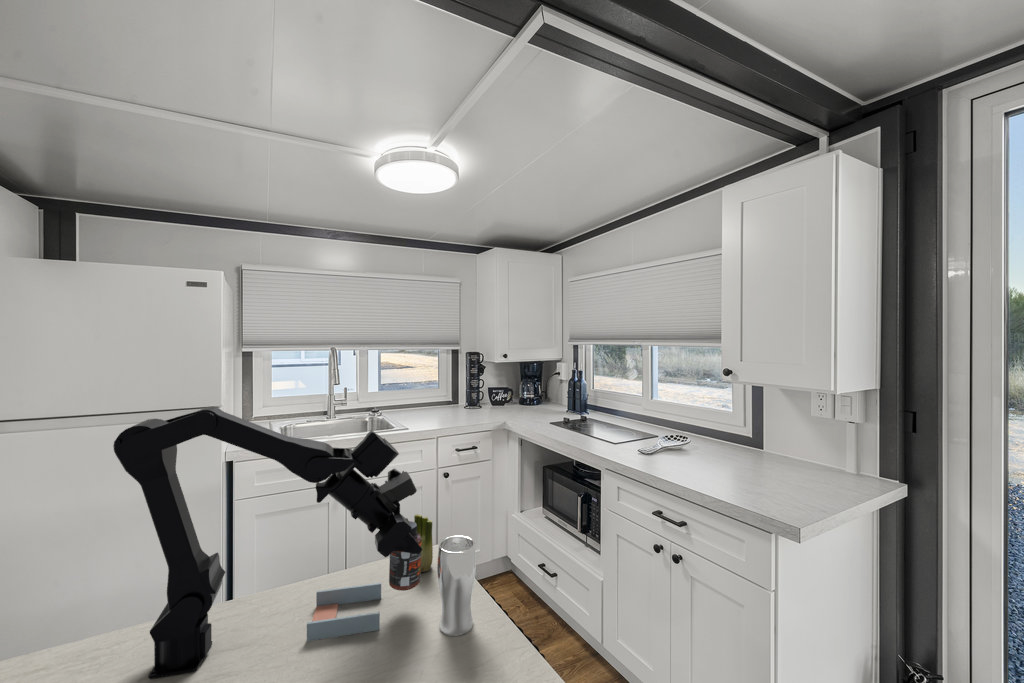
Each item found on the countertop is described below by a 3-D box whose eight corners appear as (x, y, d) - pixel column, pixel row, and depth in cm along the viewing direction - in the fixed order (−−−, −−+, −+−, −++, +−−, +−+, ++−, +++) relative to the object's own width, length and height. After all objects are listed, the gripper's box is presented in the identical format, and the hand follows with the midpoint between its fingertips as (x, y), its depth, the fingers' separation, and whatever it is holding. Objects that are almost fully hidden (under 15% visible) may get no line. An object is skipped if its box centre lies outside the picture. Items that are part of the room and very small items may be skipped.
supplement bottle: (412, 594, 80) (413, 533, 80) (383, 590, 82) (384, 530, 82) (425, 577, 86) (426, 520, 86) (397, 573, 88) (398, 517, 87)
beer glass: (480, 616, 82) (480, 537, 82) (468, 641, 76) (468, 555, 75) (445, 610, 84) (446, 533, 84) (430, 634, 77) (431, 550, 77)
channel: (306, 641, 75) (306, 624, 75) (316, 606, 85) (316, 591, 85) (379, 629, 78) (379, 613, 78) (381, 597, 88) (381, 582, 88)
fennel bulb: (435, 573, 97) (435, 519, 97) (412, 577, 95) (413, 523, 95) (429, 560, 102) (430, 510, 102) (408, 564, 101) (408, 513, 100)
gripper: (399, 476, 74) (460, 530, 79) (382, 449, 91) (433, 495, 96) (349, 530, 71) (416, 583, 75) (341, 492, 88) (396, 537, 92)
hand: (416, 544), depth 85 cm, fingers closed on supplement bottle, 6 cm apart
